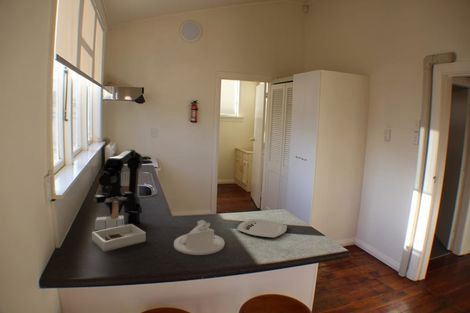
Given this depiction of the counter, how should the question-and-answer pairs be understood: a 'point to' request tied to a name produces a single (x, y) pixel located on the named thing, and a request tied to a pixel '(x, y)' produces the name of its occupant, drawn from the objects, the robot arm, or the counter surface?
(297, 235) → the counter surface
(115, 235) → the socket
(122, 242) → the tray
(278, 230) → the plate
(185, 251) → the dish
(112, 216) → the peg
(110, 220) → the syrup box
